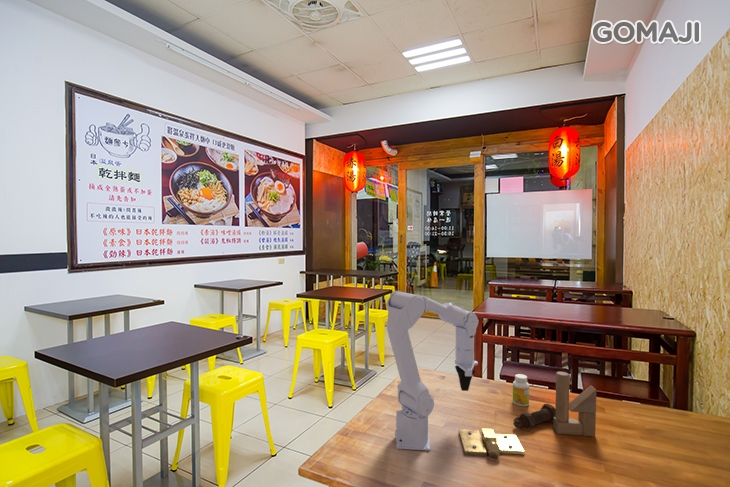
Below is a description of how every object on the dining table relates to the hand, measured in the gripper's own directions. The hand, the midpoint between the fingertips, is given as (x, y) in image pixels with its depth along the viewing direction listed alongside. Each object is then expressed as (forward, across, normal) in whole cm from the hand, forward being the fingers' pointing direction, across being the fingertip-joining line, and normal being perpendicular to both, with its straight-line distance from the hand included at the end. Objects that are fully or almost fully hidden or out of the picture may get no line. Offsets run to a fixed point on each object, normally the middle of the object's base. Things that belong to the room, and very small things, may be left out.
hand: (464, 389), depth 117 cm
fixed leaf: (+10, -12, -2) cm, 16 cm away
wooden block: (+11, -3, -32) cm, 34 cm away
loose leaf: (+10, -12, -8) cm, 18 cm away
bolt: (+11, 0, -22) cm, 24 cm away
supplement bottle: (+11, +15, -22) cm, 29 cm away
